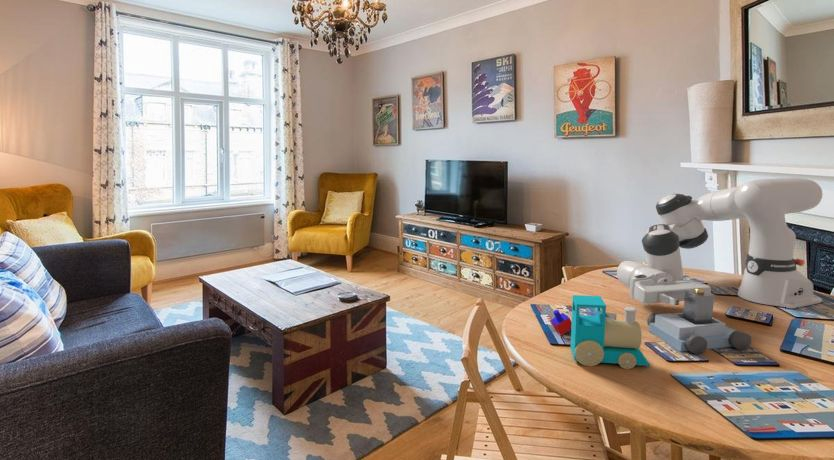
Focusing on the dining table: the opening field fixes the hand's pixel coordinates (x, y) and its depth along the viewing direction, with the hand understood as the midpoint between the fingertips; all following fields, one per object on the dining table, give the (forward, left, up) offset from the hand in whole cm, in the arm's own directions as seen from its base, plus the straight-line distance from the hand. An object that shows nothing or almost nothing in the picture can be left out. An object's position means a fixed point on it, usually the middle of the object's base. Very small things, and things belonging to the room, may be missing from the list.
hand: (692, 301), depth 113 cm
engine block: (0, +2, -7) cm, 7 cm away
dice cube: (+21, -6, -10) cm, 24 cm away
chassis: (0, +2, -10) cm, 10 cm away
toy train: (+28, +9, -10) cm, 31 cm away
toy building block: (+32, -8, -10) cm, 34 cm away
